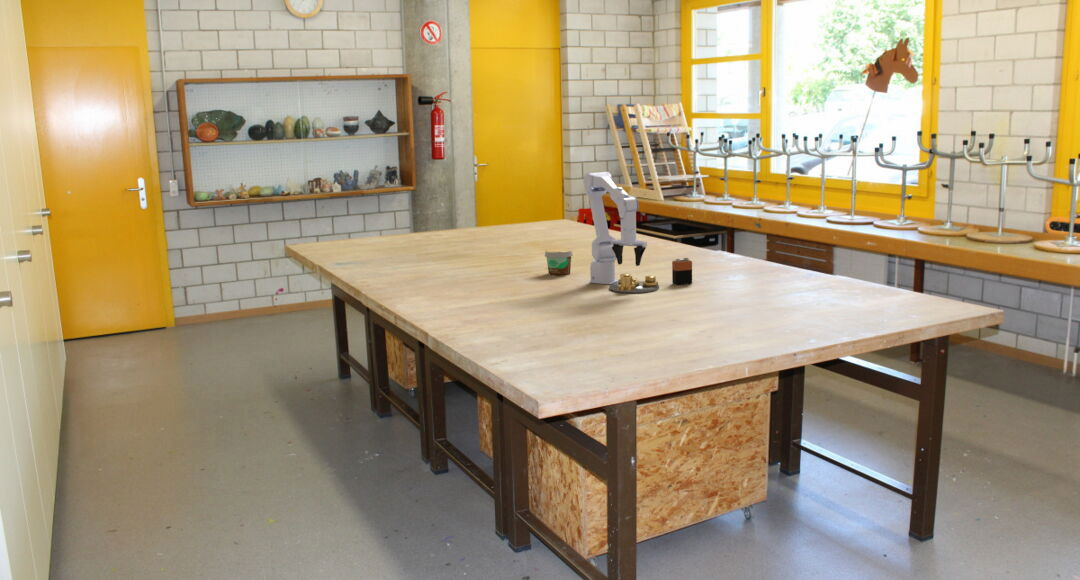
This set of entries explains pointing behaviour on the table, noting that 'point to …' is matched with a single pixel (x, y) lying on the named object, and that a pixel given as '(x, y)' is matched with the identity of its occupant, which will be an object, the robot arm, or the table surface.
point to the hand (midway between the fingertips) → (628, 264)
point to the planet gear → (626, 283)
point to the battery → (682, 271)
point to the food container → (559, 262)
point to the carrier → (638, 285)
